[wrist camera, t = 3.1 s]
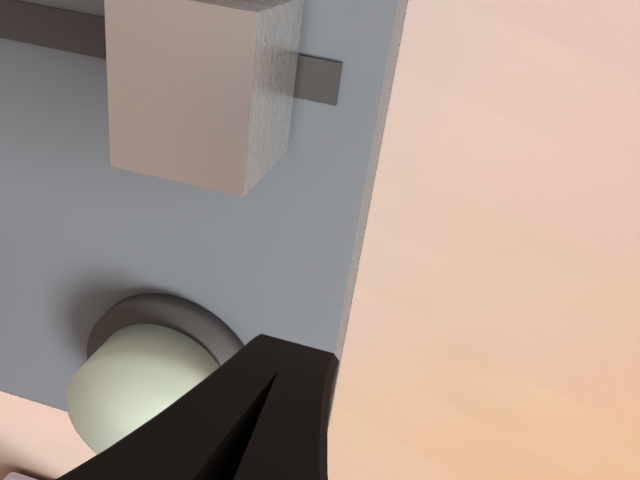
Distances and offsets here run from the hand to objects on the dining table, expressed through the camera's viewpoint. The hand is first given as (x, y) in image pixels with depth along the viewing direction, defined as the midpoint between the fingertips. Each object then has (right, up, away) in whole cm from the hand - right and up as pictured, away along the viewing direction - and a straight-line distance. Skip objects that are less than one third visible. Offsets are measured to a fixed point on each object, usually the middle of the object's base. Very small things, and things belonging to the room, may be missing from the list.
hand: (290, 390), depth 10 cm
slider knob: (-2, +7, +4) cm, 8 cm away
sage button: (-4, -2, +9) cm, 10 cm away
